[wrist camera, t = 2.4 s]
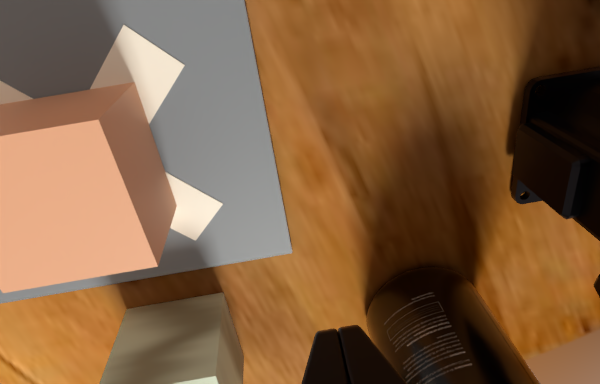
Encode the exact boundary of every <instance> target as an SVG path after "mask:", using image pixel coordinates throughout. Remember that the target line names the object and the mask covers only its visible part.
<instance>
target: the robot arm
mask: <svg viewBox="0 0 600 384" xmlns="http://www.w3.org/2000/svg"><path fill="white" fill-rule="evenodd" d="M538 86H541V89H540V91H539V92H538V93H536V94H535V90H536V88H537V87H538ZM512 174H513V183H512V191H511V196H512V198H513V199H514V200H515V201H516V202H517V203H519V204H526V203H532V202H537V201H544V202H545V203H547V204H548V205H549V206H550V207H551V208H552V209H554V210H555V211H556V212H557V213H558V214H560V215H561V216H562V217H563V218H565V219H570V218H573V219H574V220H575V221H576V222H578V223H579V224H580V225H581V226H582V227H584V228H585V229H586V230H587V231H588V232H590V233H591V234H592V235H593V236H594V237H596V238H597V239H598V240H599V241H600V67H596V68H590V69H584V70H578V71H572V72H566V73H560V74H554V75H549V76H543V77H537V78H534V79H532V80H531V81H529V82H528V84H527V85H526V88H525V92H524V99H523V107H522V115H521V122H520V126H519V128H518V130H517V137H516V145H515V153H514V161H513V169H512ZM523 192H525V193H524V194H523V195H521V194H522V193H523ZM520 195H521V196H520ZM594 287H595V289H596V291H597V293H598V295H599V297H600V274H599V276H598V278H597V279H596V281H595V283H594ZM302 384H407V383H406V382H405V380H404V379H403V378H402V377H401V376H400V374H399V373H398V372H397V371H396V370H395V368H394V367H393V366H392V365H391V364H390V362H389V361H388V360H387V359H386V358H385V356H384V355H383V354H382V353H381V352H380V350H379V349H378V348H377V347H376V345H375V344H374V343H373V342H372V341H371V339H370V338H369V337H368V336H367V335H366V333H365V332H364V331H363V330H362V329H361V328H360V327H359V326H358V325H351V326H345V327H341V328H339V329H338V332H337V330H336V329H328V330H322V331H318V332H317V333H316V334H315V337H314V341H313V344H312V348H311V352H310V355H309V359H308V362H307V366H306V370H305V373H304V377H303V380H302Z"/></svg>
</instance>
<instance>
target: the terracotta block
mask: <svg viewBox="0 0 600 384" xmlns="http://www.w3.org/2000/svg"><path fill="white" fill-rule="evenodd" d="M176 207H177V205H176V202H175V199H174V196H173V193H172V190H171V187H170V184H169V181H168V178H167V176H166V173H165V170H164V167H163V164H162V161H161V158H160V155H159V152H158V149H157V146H156V143H155V140H154V138H153V135H152V132H151V129H150V126H149V123H148V120H147V117H146V114H145V111H144V108H143V105H142V103H141V100H140V97H139V94H138V91H137V88H136V85H135V82H132V83H126V84H120V85H114V86H108V87H102V88H96V89H90V90H84V91H78V92H72V93H66V94H60V95H54V96H48V97H42V98H36V99H30V100H24V101H18V102H12V103H6V104H0V290H1V291H2V293H8V292H13V291H19V290H25V289H31V288H36V287H42V286H48V285H54V284H60V283H65V282H71V281H77V280H83V279H89V278H94V277H100V276H106V275H112V274H118V273H123V272H129V271H135V270H141V269H147V268H152V267H158V265H159V262H160V258H161V255H162V252H163V249H164V246H165V242H166V239H167V236H168V233H169V230H170V226H171V223H172V220H173V217H174V214H175V210H176Z"/></svg>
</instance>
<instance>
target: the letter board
mask: <svg viewBox="0 0 600 384" xmlns="http://www.w3.org/2000/svg"><path fill="white" fill-rule="evenodd" d="M132 82H135V85H136V88H137V91H138V94H139V97H140V100H141V103H142V105H143V108H144V111H145V114H146V117H147V120H148V123H149V126H150V129H151V132H152V135H153V138H154V140H155V143H156V146H157V149H158V152H159V155H160V158H161V161H162V164H163V167H164V170H165V173H166V176H167V178H168V181H169V184H170V187H171V190H172V193H173V196H174V199H175V202H176V205H177V207H176V210H175V214H174V217H173V220H172V223H171V226H170V230H169V233H168V236H167V239H166V242H165V246H164V249H163V252H162V255H161V258H160V262H159V265H158V267H152V268H147V269H141V270H135V271H129V272H123V273H118V274H112V275H106V276H100V277H94V278H89V279H83V280H77V281H71V282H65V283H60V284H54V285H48V286H42V287H36V288H31V289H25V290H19V291H13V292H8V293H2V291H1V290H0V303H6V302H12V301H18V300H24V299H29V298H35V297H41V296H47V295H53V294H58V293H64V292H70V291H76V290H81V289H87V288H93V287H99V286H105V285H110V284H116V283H122V282H128V281H134V280H139V279H145V278H151V277H157V276H163V275H168V274H174V273H180V272H186V271H191V270H197V269H203V268H209V267H215V266H220V265H226V264H232V263H238V262H244V261H249V260H255V259H261V258H267V257H273V256H278V255H284V254H290V253H292V246H291V241H290V236H289V231H288V225H287V220H286V215H285V210H284V204H283V199H282V194H281V189H280V183H279V178H278V173H277V168H276V162H275V157H274V152H273V147H272V141H271V136H270V131H269V126H268V121H267V115H266V110H265V105H264V100H263V94H262V89H261V84H260V79H259V73H258V68H257V63H256V58H255V52H254V47H253V42H252V37H251V31H250V26H249V21H248V16H247V10H246V5H245V0H0V104H6V103H12V102H18V101H24V100H30V99H36V98H42V97H48V96H54V95H60V94H66V93H72V92H78V91H84V90H90V89H96V88H102V87H108V86H114V85H120V84H126V83H132Z"/></svg>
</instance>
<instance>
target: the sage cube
mask: <svg viewBox="0 0 600 384" xmlns="http://www.w3.org/2000/svg"><path fill="white" fill-rule="evenodd" d="M243 365H244V356H243V353H242V350H241V346H240V343H239V340H238V337H237V334H236V331H235V327H234V324H233V321H232V318H231V315H230V312H229V308H228V305H227V302H226V299H225V296H224V293H223V292H222V293H216V294H210V295H205V296H199V297H193V298H187V299H182V300H176V301H170V302H164V303H159V304H153V305H147V306H141V307H136V308H130V309H127V310H126V312H125V315H124V318H123V321H122V323H121V326H120V329H119V332H118V334H117V337H116V340H115V343H114V345H113V348H112V351H111V354H110V356H109V359H108V362H107V364H106V367H105V370H104V373H103V375H102V378H101V381H100V384H243Z"/></svg>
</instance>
